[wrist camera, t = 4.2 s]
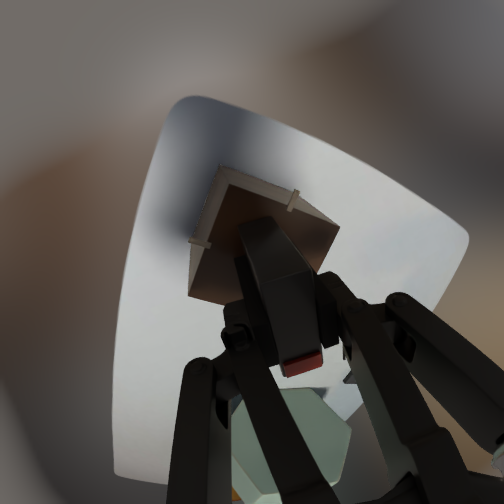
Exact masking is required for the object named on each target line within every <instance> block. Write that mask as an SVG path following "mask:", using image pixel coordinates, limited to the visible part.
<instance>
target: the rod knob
mask: <svg viewBox="0 0 504 504" xmlns="http://www.w3.org/2000/svg"><path fill="white" fill-rule="evenodd" d="M237 228H238V231H239V235H240V238H241V242H242V246H243V249H244V253H245V255H246V258H247V261H248V264H249V267H250V269H251V272H252V275H253V278H254V281H255V284H256V287H257V289H258V292H259V295H260V298H261V301H262V304H263V307H264V309H265V312H266V315H267V318H268V320H269V324H270V327H271V331H272V335H273V338H274V342H275V346H276V350H277V353H278V357H279V361H280V364H279V366H280V369H281V372H282V375H283V376H284V377H287V378H289V377H292V376H295V375H298V374H301V373H304V372H307V371H310V370H313V369H316V368H319V367H321V366H322V364H323V355H322V345H321V336H320V327H319V319H318V311H317V303H316V295H315V287H314V280H313V273H312V268H311V267H310V266H309V264H308V263H307V262H306V260H305V259H304V258H303V256H302V255H301V254H300V252H299V251H298V250H297V248H296V247H295V246H294V244H293V243H292V242H291V240H290V239H289V238H288V237H287V235H286V234H285V233H284V231H283V230H282V229H281V228H280V226H279V225H278V224H277V222H276V221H275V220H274V219H273V217H272V216H269V217H265V218H262V219H258V220H254V221H251V222H247V223H244V224H240V225H238V226H237Z"/></svg>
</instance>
